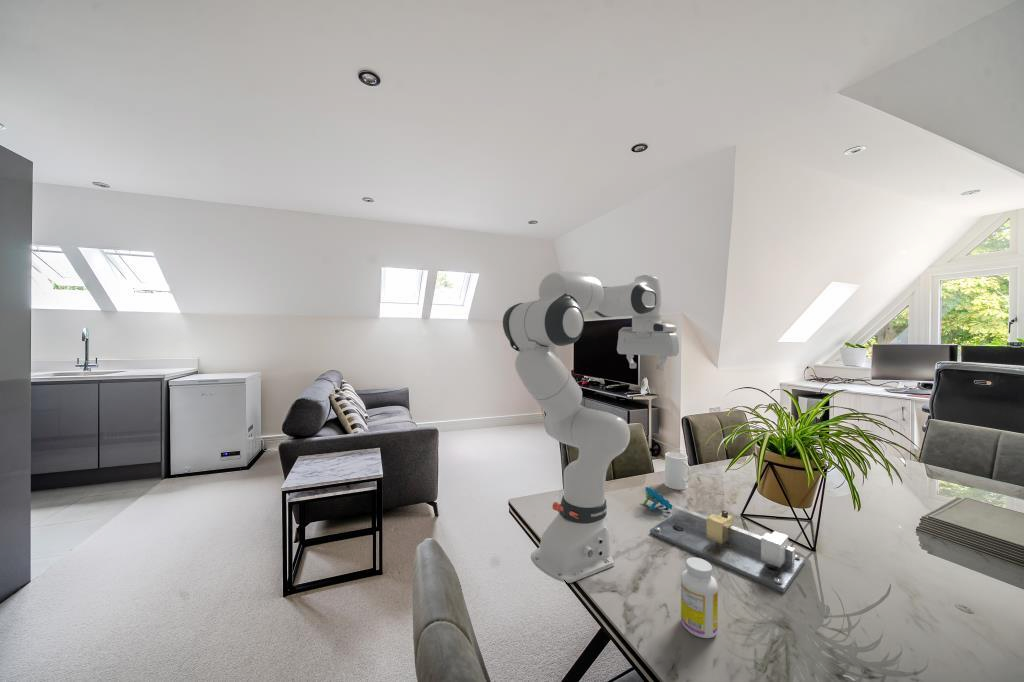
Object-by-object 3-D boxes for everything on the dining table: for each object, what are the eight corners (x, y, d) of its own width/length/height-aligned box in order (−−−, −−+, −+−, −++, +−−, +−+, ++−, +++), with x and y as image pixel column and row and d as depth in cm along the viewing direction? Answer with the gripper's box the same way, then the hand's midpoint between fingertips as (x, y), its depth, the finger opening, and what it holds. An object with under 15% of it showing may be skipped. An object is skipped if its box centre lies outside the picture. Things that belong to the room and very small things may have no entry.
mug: (698, 492, 139) (699, 460, 139) (679, 494, 137) (679, 462, 137) (678, 480, 151) (678, 451, 151) (659, 482, 149) (659, 452, 149)
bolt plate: (783, 593, 85) (783, 585, 85) (650, 533, 110) (650, 527, 110) (804, 562, 96) (804, 556, 96) (679, 515, 122) (679, 509, 121)
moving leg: (722, 549, 99) (722, 522, 99) (706, 543, 102) (706, 516, 102) (734, 538, 105) (734, 512, 105) (719, 532, 108) (719, 507, 108)
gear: (680, 510, 122) (659, 489, 121) (670, 525, 120) (649, 504, 119) (659, 500, 132) (640, 481, 131) (650, 513, 131) (630, 494, 130)
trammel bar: (784, 577, 89) (785, 546, 88) (661, 525, 112) (662, 501, 112) (795, 563, 94) (795, 534, 94) (675, 516, 118) (675, 494, 118)
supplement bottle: (705, 614, 78) (706, 553, 78) (724, 639, 72) (725, 574, 71) (674, 614, 78) (675, 554, 78) (690, 640, 71) (691, 574, 71)
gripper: (613, 327, 126) (613, 367, 126) (671, 326, 110) (671, 372, 110) (624, 327, 130) (623, 366, 130) (681, 326, 114) (681, 371, 114)
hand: (645, 369), depth 120 cm, fingers open, 8 cm apart
